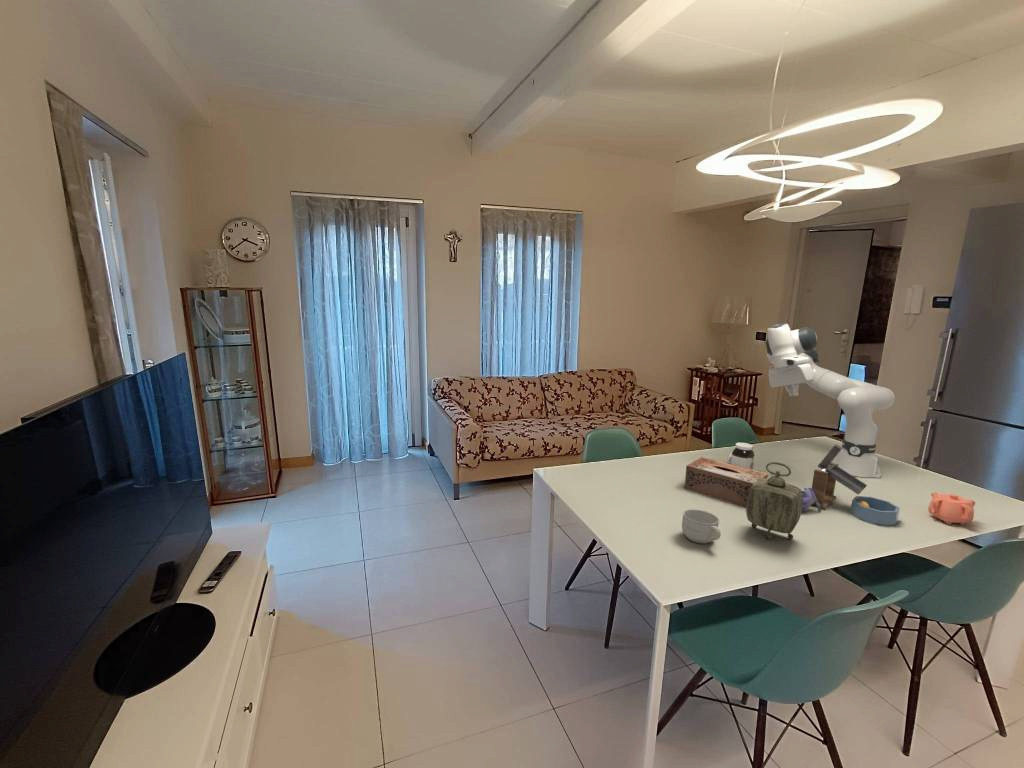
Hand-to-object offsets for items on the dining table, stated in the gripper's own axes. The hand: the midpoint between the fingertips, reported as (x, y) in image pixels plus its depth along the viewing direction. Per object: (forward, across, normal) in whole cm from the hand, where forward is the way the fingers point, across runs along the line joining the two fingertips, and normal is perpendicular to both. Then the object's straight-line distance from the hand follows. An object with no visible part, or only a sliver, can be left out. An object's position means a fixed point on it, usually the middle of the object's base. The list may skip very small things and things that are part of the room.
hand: (794, 396), depth 186 cm
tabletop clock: (+42, +26, -43) cm, 65 cm away
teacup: (+38, +26, -67) cm, 81 cm away
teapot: (+52, +24, +28) cm, 64 cm away
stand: (+41, +6, -4) cm, 42 cm away
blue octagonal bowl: (+46, +19, +4) cm, 50 cm away
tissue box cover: (+33, -6, -36) cm, 49 cm away
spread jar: (+29, -29, -12) cm, 43 cm away
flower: (+41, +10, -16) cm, 45 cm away
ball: (+43, +17, +2) cm, 46 cm away
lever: (+33, +12, -1) cm, 35 cm away
